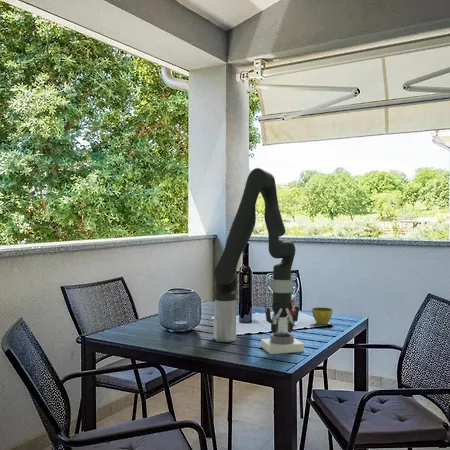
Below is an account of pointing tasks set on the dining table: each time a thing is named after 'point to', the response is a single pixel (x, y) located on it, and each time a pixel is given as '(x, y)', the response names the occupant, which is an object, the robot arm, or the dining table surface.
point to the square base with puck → (282, 344)
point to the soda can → (292, 309)
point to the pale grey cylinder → (282, 326)
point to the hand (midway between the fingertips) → (282, 332)
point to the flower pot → (322, 315)
